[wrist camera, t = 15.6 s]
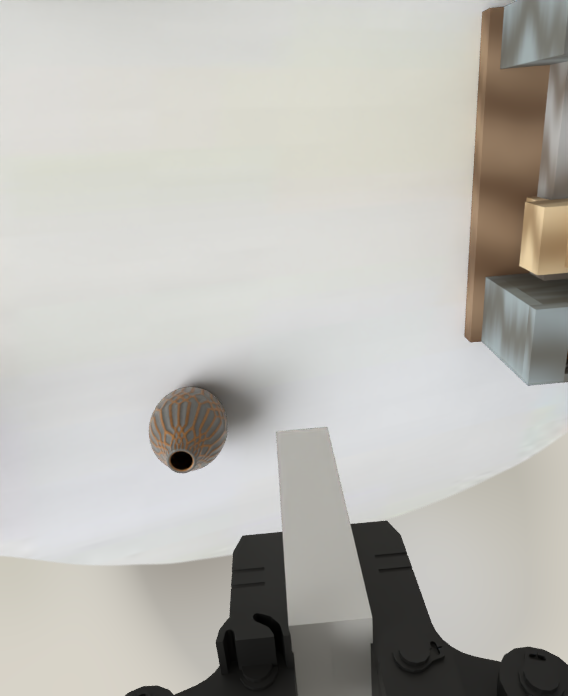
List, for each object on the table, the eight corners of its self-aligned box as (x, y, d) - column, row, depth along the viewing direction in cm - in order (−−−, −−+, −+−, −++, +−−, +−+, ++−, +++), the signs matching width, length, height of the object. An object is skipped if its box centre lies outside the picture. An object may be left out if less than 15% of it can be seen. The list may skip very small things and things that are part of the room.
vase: (239, 389, 51) (235, 439, 43) (216, 447, 53) (208, 505, 45) (168, 366, 50) (151, 413, 42) (148, 427, 52) (128, 483, 44)
